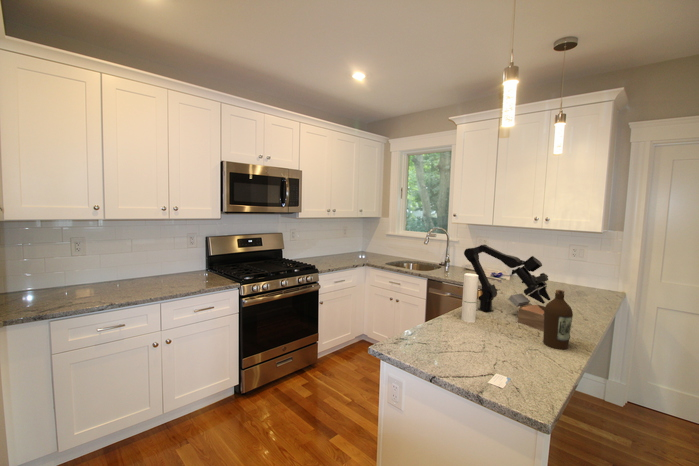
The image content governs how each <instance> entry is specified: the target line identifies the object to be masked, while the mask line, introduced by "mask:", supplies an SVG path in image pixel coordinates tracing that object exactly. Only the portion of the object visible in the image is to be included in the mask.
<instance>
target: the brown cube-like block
mask: <svg viewBox="0 0 699 466" xmlns="http://www.w3.org/2000/svg"><path fill="white" fill-rule="evenodd" d="M532 305H533V303H530V302H529V303H528V305H524V306H519V308H522V307H527V306H532Z"/></svg>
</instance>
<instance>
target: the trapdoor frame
mask: <svg viewBox="0 0 699 466" xmlns="http://www.w3.org/2000/svg"><path fill="white" fill-rule="evenodd" d="M537 305H538V306H539V307H540V308H541V309H542V310H543V311H544V309H545V306H544V305H542V304H541V305H540V304H537ZM517 313H518V314H517V315H518V316H517V323H518V324H522V325H525V326H528V327H530V328H534V329H536V330H539V331H542V332H544V315H541V314H538V313H534V312H531V311H528V310H524V309H521V308H520V307H519V308H518V312H517Z"/></svg>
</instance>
